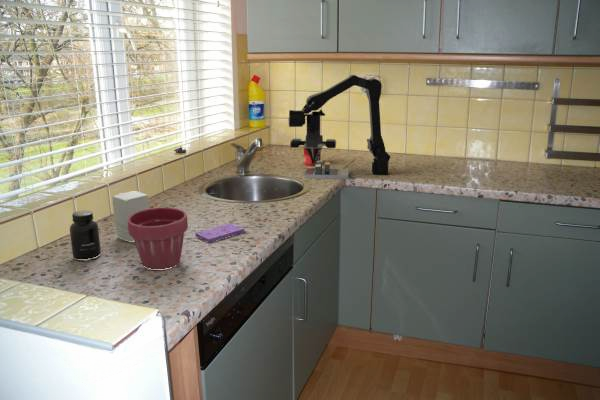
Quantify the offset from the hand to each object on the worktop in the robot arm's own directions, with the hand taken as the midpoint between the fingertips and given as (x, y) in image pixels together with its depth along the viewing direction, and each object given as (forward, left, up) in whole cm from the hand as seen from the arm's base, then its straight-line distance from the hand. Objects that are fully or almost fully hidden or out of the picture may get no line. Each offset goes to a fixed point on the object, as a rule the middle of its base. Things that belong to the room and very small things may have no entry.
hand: (313, 163), depth 214 cm
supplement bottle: (+50, +94, -5) cm, 106 cm away
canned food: (+3, -20, -5) cm, 21 cm away
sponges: (+20, +74, -6) cm, 77 cm away
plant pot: (+29, +96, -5) cm, 100 cm away
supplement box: (+44, +79, -5) cm, 90 cm away
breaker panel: (-6, 0, -5) cm, 8 cm away
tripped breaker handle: (-6, 0, -3) cm, 7 cm away
